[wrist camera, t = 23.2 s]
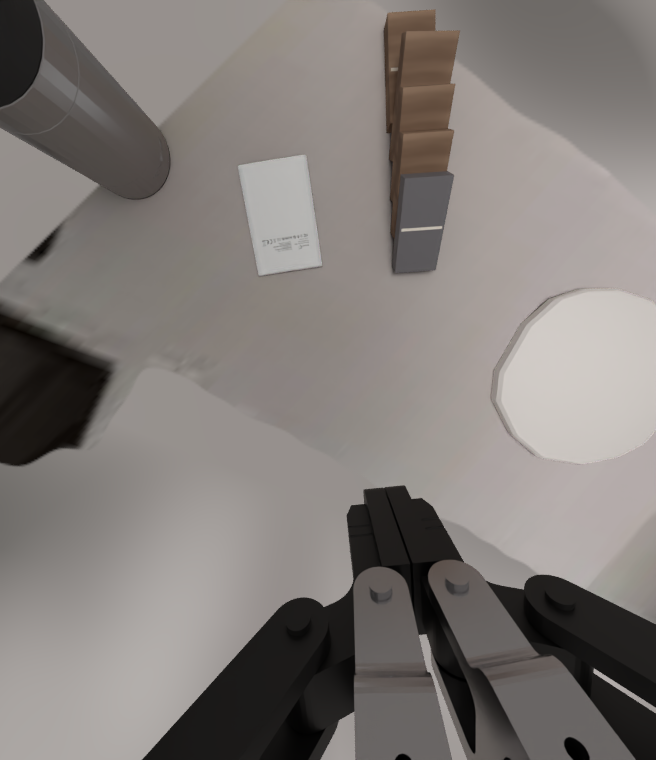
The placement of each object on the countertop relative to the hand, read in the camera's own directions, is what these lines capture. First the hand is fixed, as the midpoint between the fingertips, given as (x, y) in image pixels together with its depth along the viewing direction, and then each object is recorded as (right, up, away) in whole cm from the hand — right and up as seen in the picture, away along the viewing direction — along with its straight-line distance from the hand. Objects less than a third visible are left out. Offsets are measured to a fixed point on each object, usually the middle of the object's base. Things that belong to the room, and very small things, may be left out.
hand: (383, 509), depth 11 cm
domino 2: (+8, +31, +25) cm, 40 cm away
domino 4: (+8, +23, +27) cm, 36 cm away
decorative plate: (+34, +5, +33) cm, 48 cm away
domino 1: (+7, +34, +24) cm, 42 cm away
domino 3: (+8, +26, +26) cm, 38 cm away
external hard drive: (-8, +25, +28) cm, 38 cm away
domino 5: (+9, +19, +28) cm, 35 cm away
